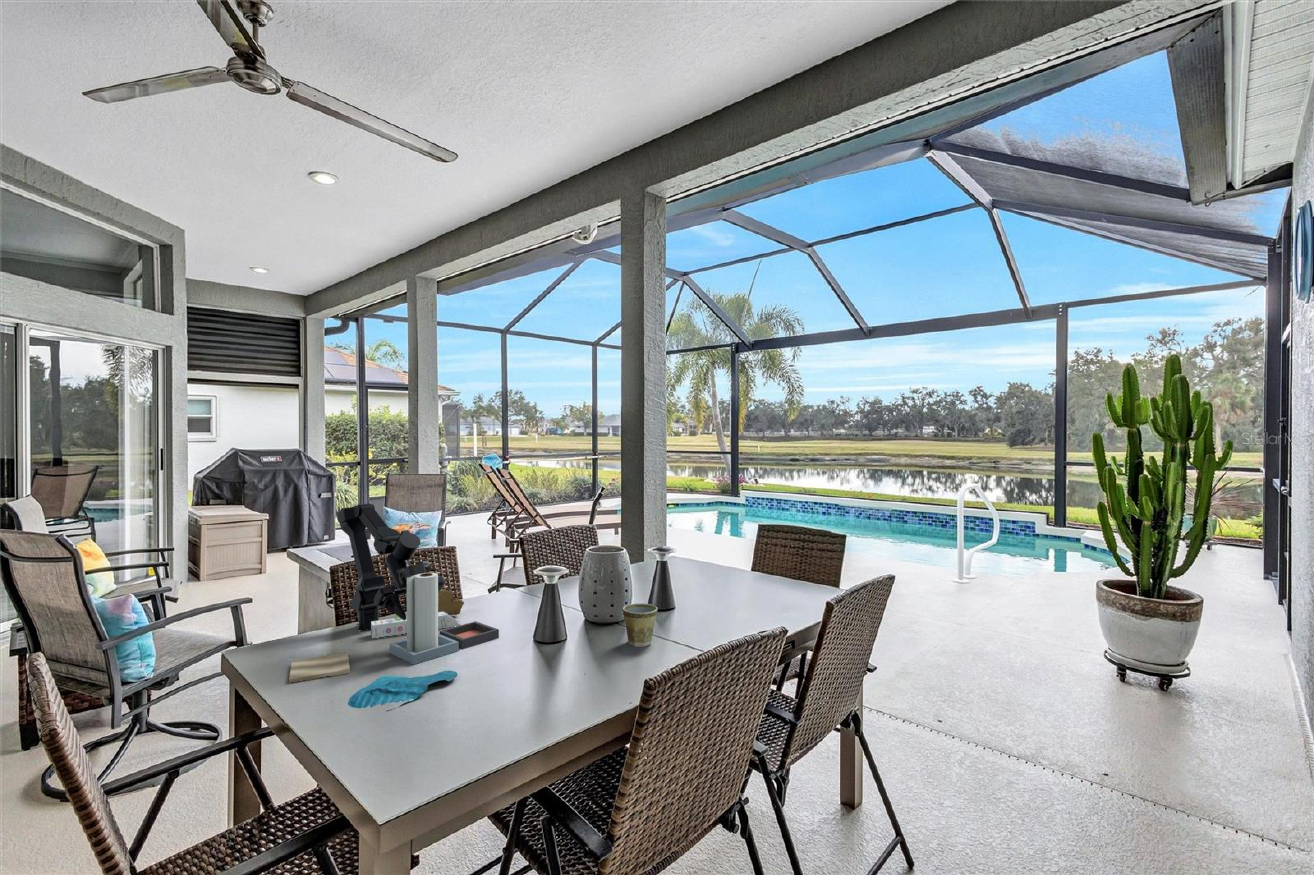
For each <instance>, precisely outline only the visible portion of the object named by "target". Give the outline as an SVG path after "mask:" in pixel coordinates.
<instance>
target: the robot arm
mask: <svg viewBox="0 0 1314 875" xmlns="http://www.w3.org/2000/svg"><path fill="white" fill-rule="evenodd" d="M336 520H337V522H338V523H339V527H340V528H341V530H342V531H343V533H345V534H346V535H347V537H348V539H349V542H350V548H351V551H352V554H353V559H354V563H355V568H356V573H357V576H358V580H357V583H356V585H355V588H354V589H355V594H354V596H353V597H352V599H351V601H350V607H351V610H353V611H356V612H357V613H358V617H357V618H358V620H357V621H358V623H356V630H362V631H367V630H366V629H369V630H371V621H379V620H380V612H379V611H380V610H379V609H380V607H381V609H386V610H387V611H389V612H391V613H393V614H395V615H396V616H397V617H398V618H401V619H403V620H406V617H407V614H406V612H405V610H404V608H403V606H402V604H401V601H400V598H399V596H405V595H406V596H407V578H409V577H412V576H414V575H417V574H422V573H431V571H432V564H431V563H430V562H429V560H423V561H422V562H420V563H417V564H411V561H410V560H411V559H412V558H413V557H414V555H415V553H416V552H417V550H418V548H419V547H420V545H421V538H420V536H418V535H417V534H414V533H413V532H411V531H409V529H405V530H401V532H399V531H398V530H397V529H394V528H391V527H389V526H388V525H387V523H386V522H385V521H384V519H383V518H382V517H381V515H380V514H379V513H378V512H377V511H376V509H375V505H374V504H373V503H359V504H357V505H356V504H355V505H354V506H350V507H341V509H340V510H339V511H338V512H337V514H336ZM366 529H367V531H368V533H370V534H371V536H372V537H373V540H374V541H373V547H374V550H375V551H376V553H377V554H378V555H380V556H384V555H387V557H386V558H385V561H384V564H383V565H384V568H388V570H389V572H390V575H391V577H392V578H391V580H390V581H391V583H392V584H389V585H386V583H385V578H384V576H383V575H378V574H377V573H376V570H375V565H374V561H373V557H372V553H371V550H370V545H369V541H368V537H367V533H366ZM393 584H395V585H393ZM445 584H446V581H445V579H444V577H443V576H442V575H438V593H439V591H440V590H441V589H443V586H444V585H445ZM357 625H358V626H357Z"/></svg>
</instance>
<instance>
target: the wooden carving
mask: <svg viewBox="0 0 1314 875" xmlns="http://www.w3.org/2000/svg"><path fill="white" fill-rule="evenodd" d="M464 605H465V601H463V599H460V598H457V597H455V594H454V592H453V590H452V589H450V588H449V589H448V590H447V589H443V588H441V590H440V591H439V593H438V612H445V613H447V614H448V615H449V616H451V615H453V616H457V615H460V613H461V611H462V608H463V606H464Z"/></svg>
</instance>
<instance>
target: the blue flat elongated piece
mask: <svg viewBox="0 0 1314 875" xmlns="http://www.w3.org/2000/svg"><path fill="white" fill-rule="evenodd" d="M457 677H458V672H457V671H455V670H450V669H449V670H443V671H440V672H437V673H433V674H431V675H430V674H429V675H424V676H413V678H412V677H411V678H409V676H404V675H403V676H402V675H398V676H397V675H387V676H386V675H385V676H380V677H378V678H376V679H375V680H374V681H373V682H371V683H369V684H368V685H367V686H365V687H362V688H361V689H359V690H357V691H356V692H355V693H353V694H352V695H351V696H350V698H348V702H347V706H349V707H351V708H354V709H366V708H368V707H369V708H371V709H372V708H374V707H376V706H377V705H381V706H383V705H386V703H387V704H392V703H402V704H400V705H399V707H401V706H403V704H404V705H405V703H406V704H408V703H412V702H413V701H415V700H417V699H418V698H419V697H420V696H422V695H423V694H424V693H425V692H426V691H428V687H429V685H431V684H433V683H434V684H435V683H437V682H439V681H447V682H450V681H452V680H453V679H456V678H457ZM410 699H414V700H410ZM406 700H407V701H406ZM409 700H410V701H409ZM400 701H402V702H400ZM404 701H405V702H404ZM380 703H381V704H380ZM394 709H396V707H394V708H391V709H389V710H388V709H387V710H386V712H389V711H392V710H394Z"/></svg>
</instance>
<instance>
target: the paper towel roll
mask: <svg viewBox="0 0 1314 875" xmlns="http://www.w3.org/2000/svg"><path fill="white" fill-rule="evenodd" d="M438 576H439V574H438V573H436V572H428V573H422V574H417V575H414V576H412V577H409V578H407V594H406V617H407V634H406V639H407V649H408V650H410V651H412V652H414V653H418V652H421V651H424V650H428V649H431V648H435V647H438V646H439V645H438V634H439V629H438Z"/></svg>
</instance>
